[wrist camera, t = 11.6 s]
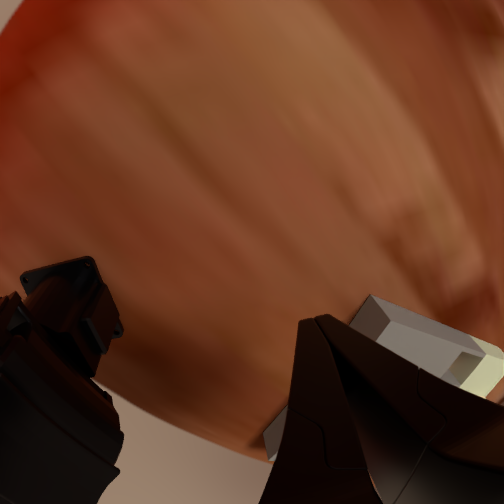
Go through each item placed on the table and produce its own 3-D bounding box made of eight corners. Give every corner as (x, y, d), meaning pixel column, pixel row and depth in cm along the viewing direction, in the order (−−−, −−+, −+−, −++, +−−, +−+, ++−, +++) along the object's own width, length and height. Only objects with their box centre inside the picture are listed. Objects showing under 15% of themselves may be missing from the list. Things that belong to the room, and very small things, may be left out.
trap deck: (262, 432, 29) (268, 460, 26) (370, 294, 24) (390, 320, 20) (413, 440, 37) (422, 457, 34) (498, 347, 31) (513, 363, 28)
